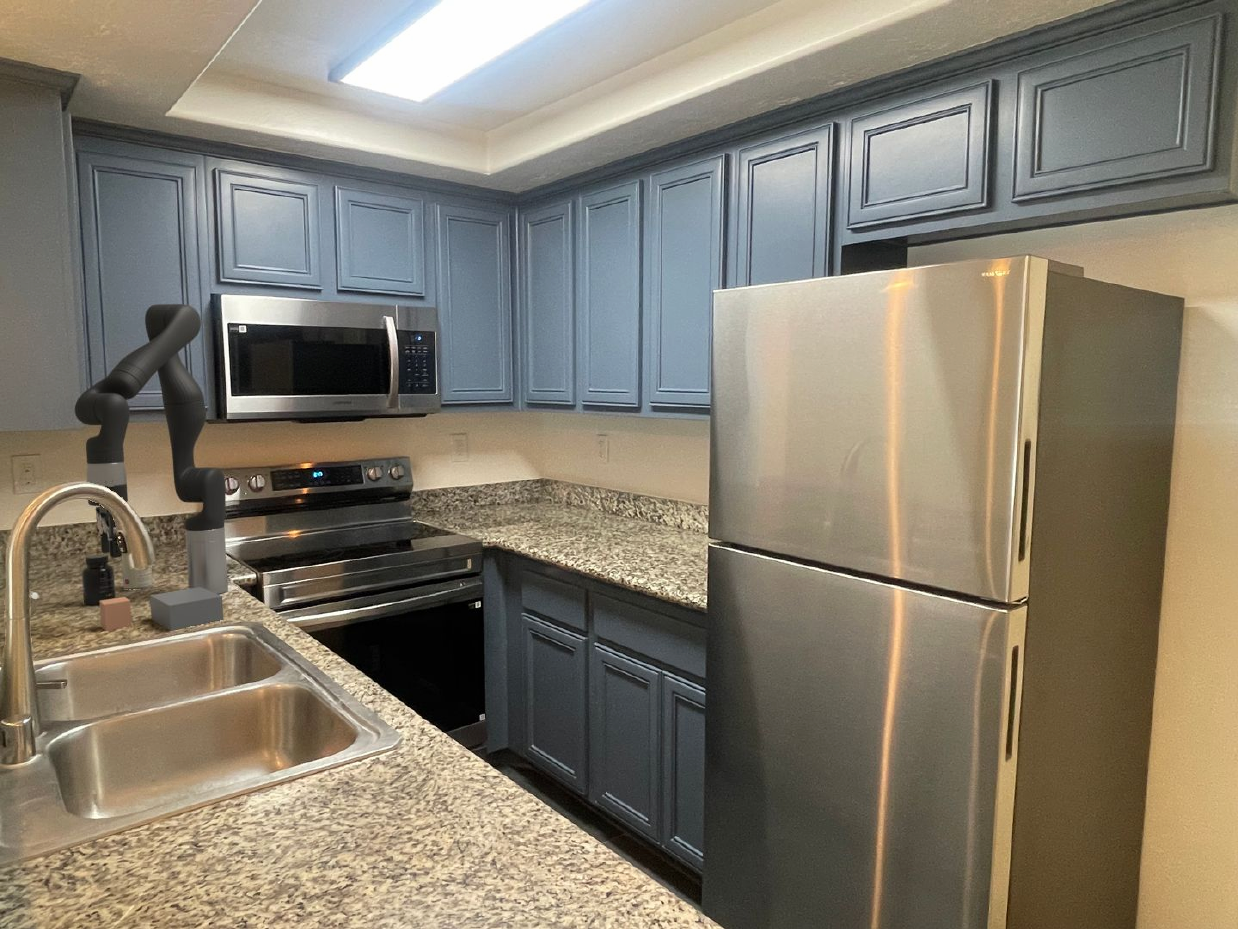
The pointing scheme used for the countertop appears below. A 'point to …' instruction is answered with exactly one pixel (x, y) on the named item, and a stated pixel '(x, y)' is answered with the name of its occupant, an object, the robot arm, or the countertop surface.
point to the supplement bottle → (97, 580)
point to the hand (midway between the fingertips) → (111, 554)
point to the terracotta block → (115, 613)
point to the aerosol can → (135, 576)
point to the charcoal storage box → (186, 608)
